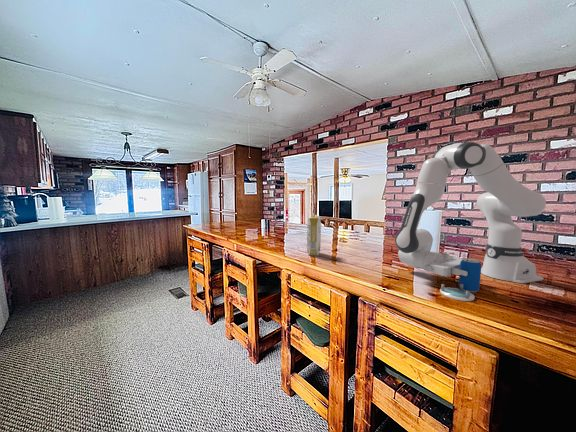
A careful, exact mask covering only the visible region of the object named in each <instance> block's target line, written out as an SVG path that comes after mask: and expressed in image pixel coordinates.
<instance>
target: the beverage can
mask: <svg viewBox="0 0 576 432" xmlns="http://www.w3.org/2000/svg"><path fill="white" fill-rule="evenodd" d="M481 267H482V263H481V260H478V259H476V258H468V257H465V258H462V261H461V262H460V270H466V271H469V275H468V276H464V275H458V276H459V277H458V287H459V288H460V284H461V283H462V284H464V285H463V290H465V291H469V292H470V293H472V294H475V293H477V292H479V291H480V285H481V276H482V275H481V274H482V273H481Z"/></svg>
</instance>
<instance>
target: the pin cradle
mask: <svg viewBox="0 0 576 432" xmlns="http://www.w3.org/2000/svg"><path fill="white" fill-rule="evenodd" d="M440 285H441V287H440V289H439V293H440V294H441V295H442V296H444V297H446V298H449V299H452V300H456V301H460V302H461V301H462V302H472V301H475V299H476V298H475V296H476V295H474V293H472V292H469V291H465V290H463V285H464V284H462V283H461V284H460V287H459V288H457V287H451V286H450V287H448V286H447V287H445V284H444V283H441V284H440Z"/></svg>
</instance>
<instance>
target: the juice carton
mask: <svg viewBox="0 0 576 432" xmlns="http://www.w3.org/2000/svg"><path fill="white" fill-rule="evenodd" d="M306 225H307V228H306V230H307V234H306V235H307V237H306V240H307V242H306V250H307V256H315V257H318V256H320V253H321V244H322V243H321V242H322V241H321V238H322V237H321V236H322V235H321V234H322V232H321V231H322V230H321V229H322V221H321V217H320V215H316V214H315V215H314V216H309V217H308V219H307V224H306Z"/></svg>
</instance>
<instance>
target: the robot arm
mask: <svg viewBox="0 0 576 432" xmlns="http://www.w3.org/2000/svg"><path fill="white" fill-rule="evenodd" d="M463 169H464V170H465V169H466V170H467V169H469V171H470V173H471V175H472V176H473V178H474V180H475V181H476V183H477V184H478V186H479V188H480V189H481V190H483V191H484V192H483V193H481V194H480V195H479V196H477V197H478V198H477V199H476V207H477V209H478V210H479V211H480V212H481V213H482V214H483V215H484V217H485V220H486V222H487V226H488V227H487V228H488V237H487V243H486V246H485V252H486V253H485V255H484V259H483V264H482V266H481V274H482V275H484V276H486V277H489V278H493V279H495V280H496V279H498V280H502V281H507V282H508V281H509V282H514V283H518V284H527V283H533V282H539V281H544V277H542V276H541V275H539V274H537V267H536V264H534V263H533V262H531V261H530V260H529V259H527V258H526V257H525V255H524V253H525V254H529V252H530V249H529V248H527V247H526V248H525V247H521V246H522V239H523V238H522V237H523V230H522V229H521V227H519V226H518V225H517V224H515V222H514V220H513V218H512V217H520V218H524V217H534V216H535V217H536V216H539V215H541V214H542V213H543V212H544V210H545V209H546V206H547V201H546V198H545V196H544V195H543V194H542V193H539V192H536V191H535V190H532V189H530V188H528V187H526V186H525V185H523V184H522V183H521V182H519V181H518V180H517V179H516V178H515V177H514V176H513V175H512V174H511V172H510V171H509V169H508V167H507V166H506V164H505V163H504V160H502V157H501V156H500V155H499V154H498V152H497V151H496V150H495V149H494V148H493V147H492V146H491V145H490V144H487V143H481V144H480V143H477V142H475V141H474V142H473V141H465V142H455V143H452V144H448V145H444V146H441V147H439V148H438V149H436V151H434V153H433V155H432V157H430V158H427V159H426V160H424V161H423V163H422V166H421V168H420V170H419V173H418V177H417V181H416V185H415V189H414V192H413V194H412V197H411V198H410V200H409V202H408V204H407V207H406V211H405V214H404V217H403V219H402V223H401V226H400V228H399V229H398V231H397V232H396V235H395V237H394V243H395V246H396V247H397V249H398V252H397V256H398V259H399V261H400V262H401V263H403V264H404V265H406V266H409V267H411V268H415V269H422V270H423V271H426V272H428V273H429V272H430V273H432V274H435V275H437V276H441V277H450V276H453V275H457V276H459V275H464V276H468V275H469V271H466V270H460V262H461V261H462V259H463V258H461V257H458V256H454V255H450V254H449V253H443V252H441V253H439V252H436V251H432V246H433V241H434V240H433V239H434V238H433V236H432V234H431V232H429V231H428V230H426V229H423V228H421V229H420V228H419V229H418V227H419V224H420V221H421V218H422V216H423V213H424V212H425V211H426V210H427V209H428V208H429V207H430V206H432V205H434V204H436V203H438V202H439V201H440V200H441V199H442V197H443V195H444V193H445V190H446V185H447V179H448V176H449V174H450V173H451V171H452V170H454V171H456V170H463Z"/></svg>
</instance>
